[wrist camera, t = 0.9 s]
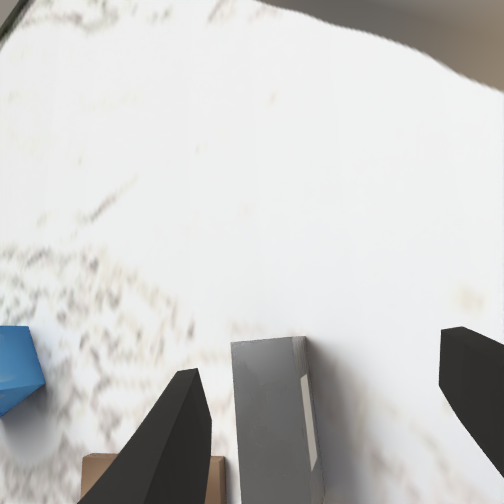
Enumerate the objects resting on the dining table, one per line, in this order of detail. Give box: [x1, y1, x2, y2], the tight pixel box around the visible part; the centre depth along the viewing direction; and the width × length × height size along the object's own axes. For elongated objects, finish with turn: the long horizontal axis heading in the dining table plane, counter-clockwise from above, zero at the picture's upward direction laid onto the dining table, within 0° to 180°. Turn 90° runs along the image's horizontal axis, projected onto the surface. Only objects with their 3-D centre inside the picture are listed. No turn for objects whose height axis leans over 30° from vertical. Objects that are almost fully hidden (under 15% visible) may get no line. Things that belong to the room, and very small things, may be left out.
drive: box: [231, 336, 325, 504], centre depth 21 cm, size 10×4×5 cm, turn 6°
